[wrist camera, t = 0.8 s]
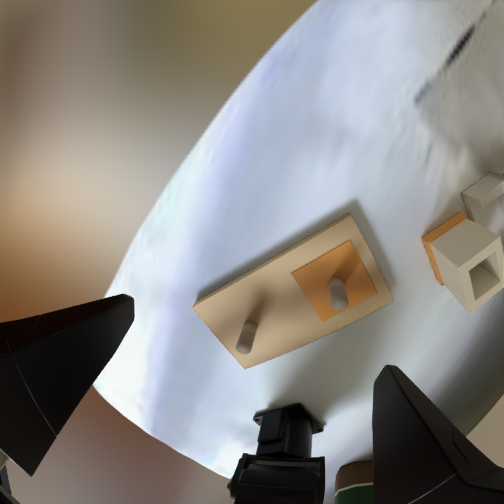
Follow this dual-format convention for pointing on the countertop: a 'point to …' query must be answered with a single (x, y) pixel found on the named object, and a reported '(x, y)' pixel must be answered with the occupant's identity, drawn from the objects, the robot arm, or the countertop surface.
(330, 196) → the countertop surface
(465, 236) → the sleeve
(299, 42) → the countertop surface
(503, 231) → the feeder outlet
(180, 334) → the countertop surface
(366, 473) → the beer bottle
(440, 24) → the countertop surface
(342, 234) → the pin board
